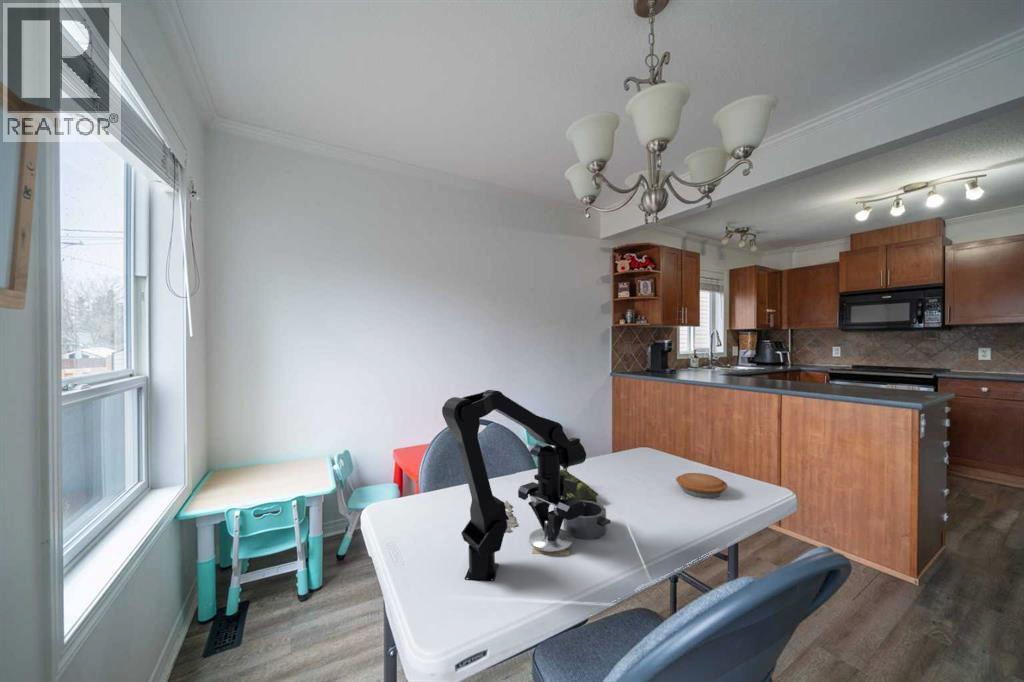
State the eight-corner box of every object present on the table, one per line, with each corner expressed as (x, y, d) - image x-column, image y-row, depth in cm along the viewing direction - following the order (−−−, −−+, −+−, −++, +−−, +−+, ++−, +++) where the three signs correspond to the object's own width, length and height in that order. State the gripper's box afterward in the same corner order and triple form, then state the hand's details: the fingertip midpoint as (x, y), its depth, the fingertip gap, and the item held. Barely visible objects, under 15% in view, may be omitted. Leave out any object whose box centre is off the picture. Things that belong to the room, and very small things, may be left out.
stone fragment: (494, 543, 96) (530, 536, 99) (494, 532, 96) (530, 525, 99) (475, 504, 120) (505, 499, 123) (475, 495, 120) (504, 491, 123)
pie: (669, 484, 132) (668, 470, 132) (713, 484, 131) (712, 469, 131) (687, 501, 116) (687, 485, 117) (737, 501, 116) (737, 485, 116)
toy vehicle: (570, 485, 134) (569, 458, 134) (601, 506, 115) (600, 474, 115) (547, 489, 130) (546, 461, 131) (574, 511, 112) (573, 478, 112)
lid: (574, 557, 85) (573, 530, 86) (528, 555, 87) (527, 529, 87) (572, 534, 96) (571, 510, 96) (530, 533, 97) (530, 509, 98)
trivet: (570, 557, 86) (570, 554, 86) (532, 555, 87) (532, 553, 87) (568, 538, 95) (568, 535, 95) (534, 537, 96) (534, 534, 96)
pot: (620, 534, 97) (619, 511, 97) (593, 549, 90) (592, 524, 90) (578, 516, 108) (577, 495, 108) (551, 528, 101) (551, 506, 101)
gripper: (599, 472, 90) (601, 537, 89) (546, 456, 104) (548, 512, 104) (567, 483, 83) (570, 553, 82) (516, 465, 97) (517, 524, 97)
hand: (550, 534), depth 91 cm, fingers closed on lid, 3 cm apart
